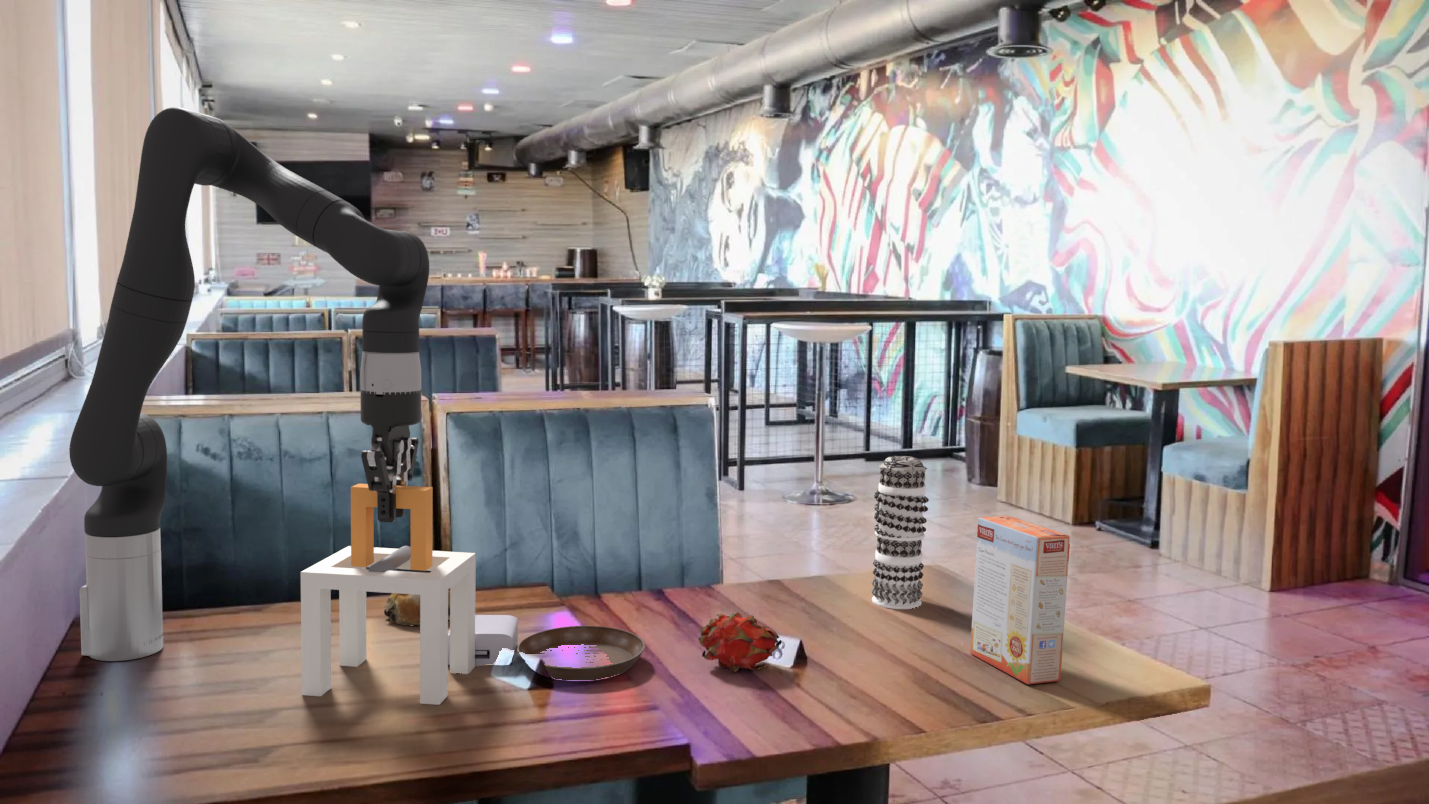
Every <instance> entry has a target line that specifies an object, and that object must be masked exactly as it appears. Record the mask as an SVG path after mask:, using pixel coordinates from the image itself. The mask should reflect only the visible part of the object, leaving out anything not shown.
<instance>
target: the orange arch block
mask: <svg viewBox="0 0 1429 804" xmlns="http://www.w3.org/2000/svg"><path fill="white" fill-rule="evenodd" d="M433 490H434V489H433V486H419V485H417V486H416V485H407V486H399V485H396V492H395V493H396V508H399V509H405V510H410V547H411V571H421V572H423V571H424V572H426V570H427V569H429V568H430V567H431V566H432V551H433V527H434V525H433V523H434V522H433V507H434V505H433V502H434V501H433V500H434V499H433V496H434V495H433ZM375 508H377V493H375V491H370V490H369V488H368V484H367V483H357V484H353V485H352V486H350V546H351V566H353V567H366V568H368V567H367V566H369V565H370V564H372V563H374V547H375V546H374V543H375V538H374V537H375V535H374V533H375V529H374V528H375V526H374V525H375V524H374V518H375V517H374V511H375V510H374V509H375Z"/></svg>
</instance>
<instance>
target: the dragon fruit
mask: <svg viewBox="0 0 1429 804" xmlns="http://www.w3.org/2000/svg"><path fill="white" fill-rule="evenodd" d="M716 616H717V617H718V618H716V617H715V618H711V619H710V620H709V622H708V624H706V625H705V626H704V627H702V628H701V627H700V629H701V631H700V635H701V636H700V637H698V641H699V644H700V645H701V647H703V648H705V650H706V651H707V652H706V651H705V650H703V651H702V654H701V657H703V658H704V659H705V660H706V661H714V660H717V663H718V666H719V667H720V668H721V669H724V668H726V667H727V668H728V669H729V670H730V671H731V672H732V673H734V672H735V673H736V672H738V670H739V669H750V670H751V671H760V670H762V669H763V668H765V667H766V666H767V665H766V664H765V663H764V664H759V663H762V662H765V661H767V660H768V659H769V657H772V656H773V653H774V652H775V651H776V650H777V649H779V647H780V645H781V644H782V640H781V639H780V636H779V635H778V633H777V631H776V630H773V629H771V628H768V627H767V628H766V626H765V625H762V624H758V619H756V618H755V616H754V615H753V614H749V615H747V616H746V617H743V616H742V614H741V612H736V614H735V613H734V612H732V613H731V614H729V616H728V615H726V614H724V613H717V614H716ZM778 639H780V640H778Z"/></svg>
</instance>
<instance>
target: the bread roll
mask: <svg viewBox="0 0 1429 804" xmlns="http://www.w3.org/2000/svg"><path fill="white" fill-rule="evenodd" d="M383 614H384V616H385V617H388V618H389V621H390V622H392V623H394V622H395V624H397V625H401V626H407V625H417V626H420V595H416V594H400V593H390V595H389V596H388V597H387V600H386V604H385V605H384V611H383ZM449 619H450V589H448V620H449ZM449 621H450V620H449Z"/></svg>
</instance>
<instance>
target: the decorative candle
mask: <svg viewBox="0 0 1429 804" xmlns="http://www.w3.org/2000/svg"><path fill="white" fill-rule="evenodd" d="M878 468H880V474H879V475H880V476H879V483H878V488H877V491H876V492H875V493H874V496H873V498H874V499H875V500H876V501H877V503H875V505H874V511H875V513H874V516H873V519H874V520H875V522H877V523H876V524H875V525H874V535H875V536H876V538H877V540H876V549H875V557H874V558H875V559H874V560H873V562H872V565H873V566H874V569H873V571H872V574H873V575H874V576H875V577H874V578H872V580H871V584H872V586H873V588H872V589H871V594H872V595H873V596H872V597H871V601H872V603H873V604H874V605H877V606H878V607H882V608H886V609H894V610H911V609H912V608H913V609H916V608H915V607H917V608H920V607H921V605H922V600H921V598H922V596H923V592H922V590H923V587H924V583H922V581H921V579H923V577H924V573H923V572H922V570H923V569H924V567H925V564H923V562H922V561H923V553H922V548H923V547H922V545H923V543H922V540H924V538H925V537H926V534H925V532H926V531H927V528H926V527H925V526H923V525H924V524H926V523H927V522H928V521H927V518H925V517H924V516H923V515H924V514H923V513H925V512H927V511H928V510H929V507H927V506H926V503H928V502H929V501H930V499H929V498H928V497H927V496H926V491H927V489H926V487H927V486H926V483H925V480H926V470H928V468H927V467H926V466H925V465H924V464H923V461H921V459H920V458H917V457H916V456H915V457H914V456H910V455H909V456H907V455H892V456H888V457H886V458H885V460H884V461H883V462H882V464H878ZM919 606H920V607H919Z"/></svg>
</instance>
